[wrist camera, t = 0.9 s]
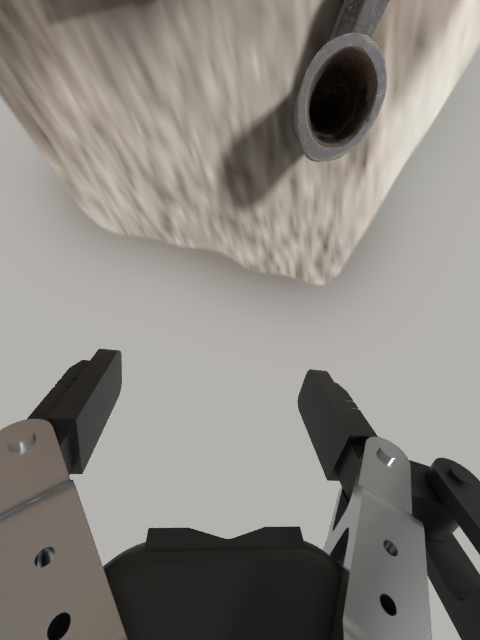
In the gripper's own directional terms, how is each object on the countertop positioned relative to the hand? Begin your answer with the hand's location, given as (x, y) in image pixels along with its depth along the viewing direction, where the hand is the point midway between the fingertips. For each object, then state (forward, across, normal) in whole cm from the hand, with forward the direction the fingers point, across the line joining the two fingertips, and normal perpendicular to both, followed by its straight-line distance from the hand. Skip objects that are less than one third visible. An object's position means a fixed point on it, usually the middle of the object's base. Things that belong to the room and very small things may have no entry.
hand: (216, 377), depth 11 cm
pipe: (+21, -8, -18) cm, 29 cm away
